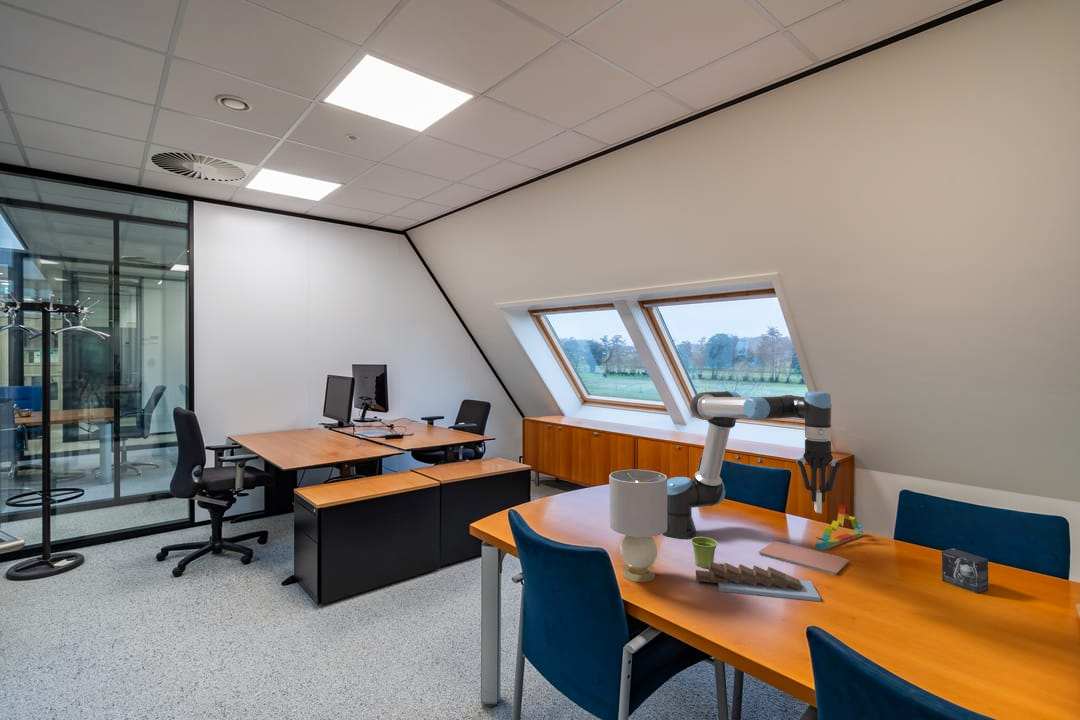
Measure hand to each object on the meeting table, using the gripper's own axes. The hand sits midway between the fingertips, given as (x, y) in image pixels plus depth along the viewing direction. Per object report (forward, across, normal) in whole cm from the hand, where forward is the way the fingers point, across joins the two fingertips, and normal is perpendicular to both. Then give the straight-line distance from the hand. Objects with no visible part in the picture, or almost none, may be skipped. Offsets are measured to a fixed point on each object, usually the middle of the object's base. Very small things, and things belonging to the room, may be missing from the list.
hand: (818, 511), depth 165 cm
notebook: (+27, +2, +29) cm, 40 cm away
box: (+27, +48, +16) cm, 58 cm away
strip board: (+26, -16, -1) cm, 31 cm away
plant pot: (+27, -34, +14) cm, 46 cm away
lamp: (+27, -58, -1) cm, 63 cm away
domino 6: (+24, -6, -1) cm, 25 cm away
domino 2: (+24, -24, -1) cm, 34 cm away
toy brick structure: (+27, +22, +51) cm, 62 cm away
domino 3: (+24, -19, -1) cm, 31 cm away
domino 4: (+24, -15, -1) cm, 28 cm away
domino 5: (+24, -10, -1) cm, 26 cm away
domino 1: (+24, -28, -1) cm, 37 cm away
